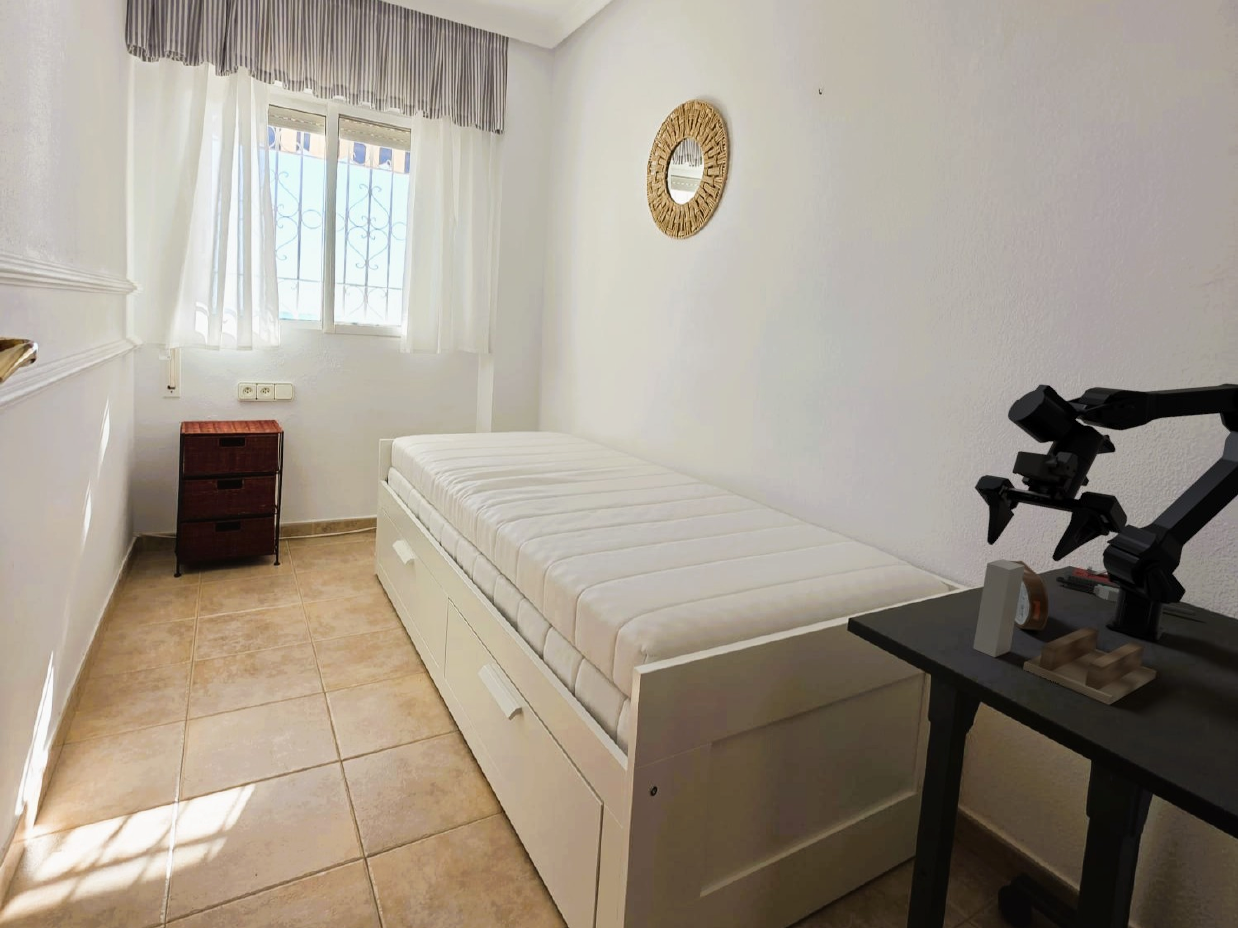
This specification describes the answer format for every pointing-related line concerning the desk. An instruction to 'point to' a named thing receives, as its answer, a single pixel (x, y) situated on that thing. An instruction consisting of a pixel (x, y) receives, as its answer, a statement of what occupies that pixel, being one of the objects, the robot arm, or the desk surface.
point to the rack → (1092, 666)
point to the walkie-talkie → (1101, 586)
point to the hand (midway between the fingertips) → (1020, 551)
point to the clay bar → (998, 607)
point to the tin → (1031, 601)
